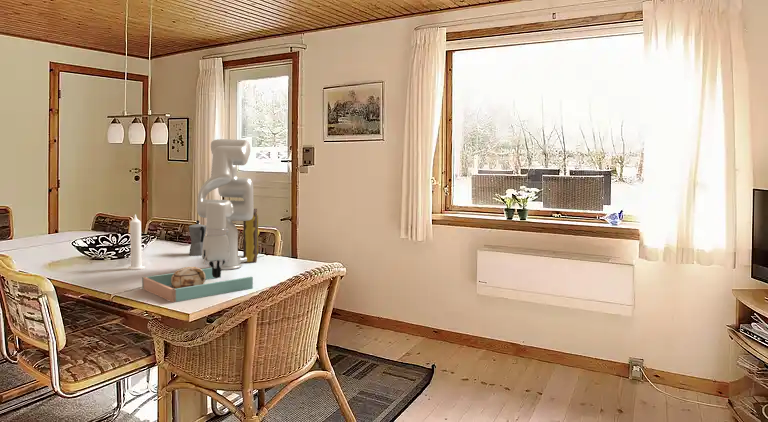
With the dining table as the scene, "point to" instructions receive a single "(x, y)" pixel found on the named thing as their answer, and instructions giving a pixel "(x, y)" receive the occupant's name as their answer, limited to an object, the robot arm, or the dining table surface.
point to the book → (250, 239)
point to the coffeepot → (197, 238)
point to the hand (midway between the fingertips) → (216, 277)
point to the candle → (135, 245)
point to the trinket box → (188, 277)
